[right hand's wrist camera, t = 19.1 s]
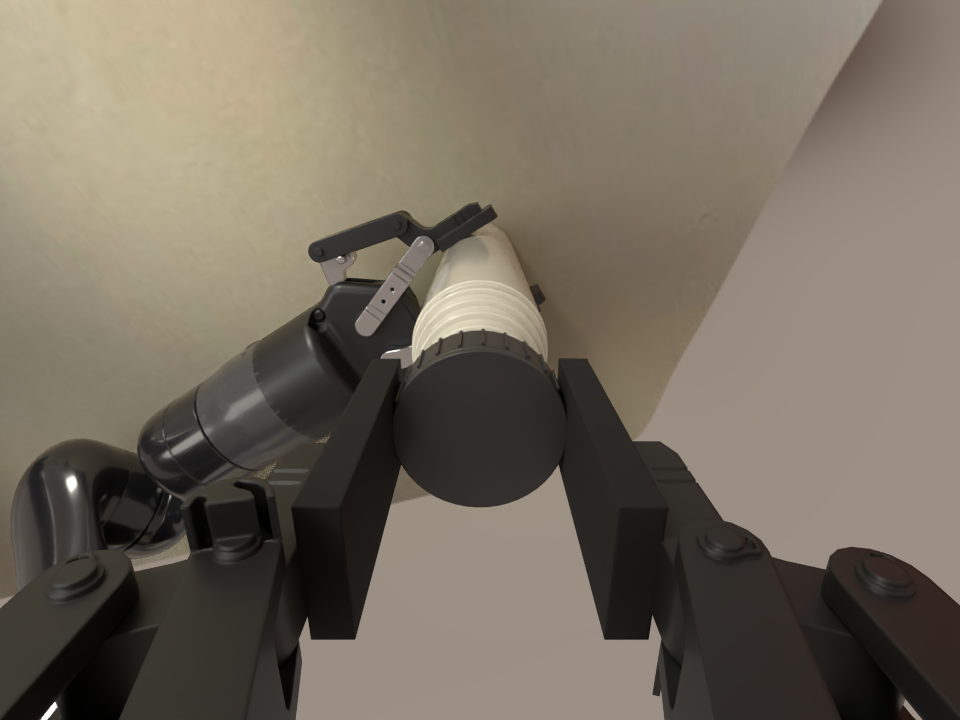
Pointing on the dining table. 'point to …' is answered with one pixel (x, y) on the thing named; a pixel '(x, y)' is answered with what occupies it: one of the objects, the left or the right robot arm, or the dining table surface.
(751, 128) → the dining table surface
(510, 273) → the bottle
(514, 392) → the cap
